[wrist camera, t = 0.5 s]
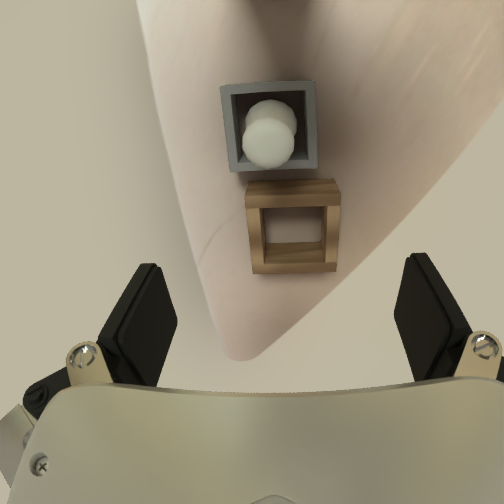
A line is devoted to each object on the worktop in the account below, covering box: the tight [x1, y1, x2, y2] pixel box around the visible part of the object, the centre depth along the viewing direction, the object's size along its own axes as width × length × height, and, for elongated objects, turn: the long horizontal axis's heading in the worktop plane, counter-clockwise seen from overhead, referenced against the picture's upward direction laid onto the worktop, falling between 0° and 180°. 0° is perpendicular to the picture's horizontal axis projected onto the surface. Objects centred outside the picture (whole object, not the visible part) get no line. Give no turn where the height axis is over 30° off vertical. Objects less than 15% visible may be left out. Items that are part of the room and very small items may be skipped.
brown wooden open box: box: [245, 179, 341, 274], centre depth 39 cm, size 11×11×5 cm
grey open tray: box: [220, 80, 318, 172], centre depth 33 cm, size 10×10×4 cm
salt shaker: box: [242, 99, 297, 169], centre depth 29 cm, size 6×6×13 cm
